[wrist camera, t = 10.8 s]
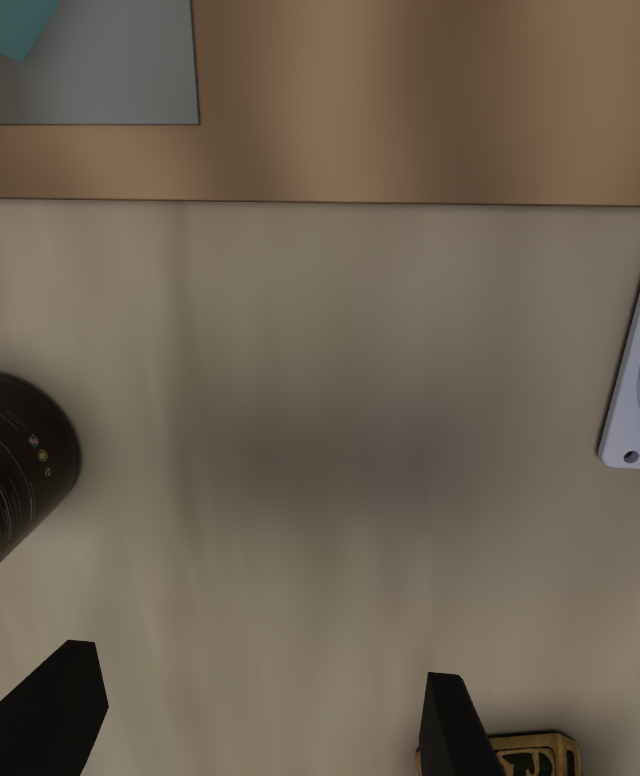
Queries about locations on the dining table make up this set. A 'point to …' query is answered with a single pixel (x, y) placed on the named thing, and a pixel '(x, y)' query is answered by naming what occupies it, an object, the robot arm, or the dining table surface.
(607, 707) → the dining table surface
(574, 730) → the dining table surface
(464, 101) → the board
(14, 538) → the supplement bottle
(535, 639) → the dining table surface
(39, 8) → the teal cube crate
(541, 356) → the dining table surface
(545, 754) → the ornate bronze statue
